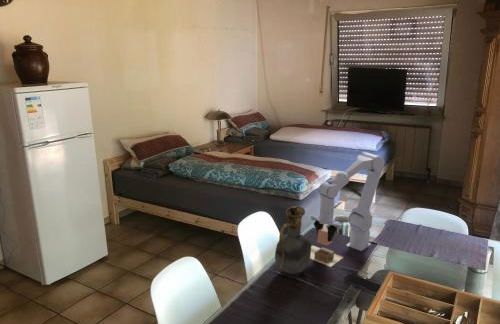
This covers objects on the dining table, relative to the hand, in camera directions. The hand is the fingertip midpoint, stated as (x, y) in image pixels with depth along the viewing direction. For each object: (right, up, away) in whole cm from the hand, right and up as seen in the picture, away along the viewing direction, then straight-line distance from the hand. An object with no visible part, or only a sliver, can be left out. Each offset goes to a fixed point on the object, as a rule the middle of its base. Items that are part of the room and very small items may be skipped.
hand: (324, 239), depth 176 cm
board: (-1, -8, +2) cm, 9 cm away
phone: (+12, -15, -18) cm, 26 cm away
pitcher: (-16, -12, -12) cm, 24 cm away
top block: (0, -2, 0) cm, 2 cm away
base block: (0, -8, 0) cm, 8 cm away
